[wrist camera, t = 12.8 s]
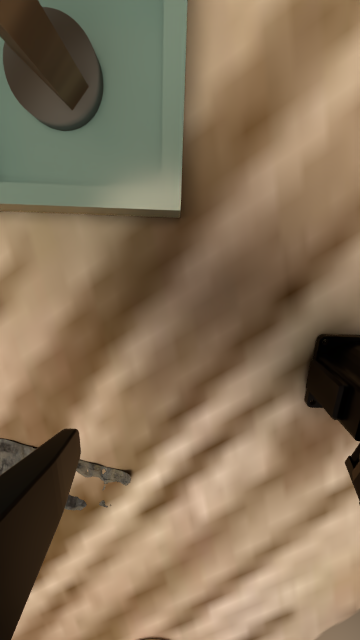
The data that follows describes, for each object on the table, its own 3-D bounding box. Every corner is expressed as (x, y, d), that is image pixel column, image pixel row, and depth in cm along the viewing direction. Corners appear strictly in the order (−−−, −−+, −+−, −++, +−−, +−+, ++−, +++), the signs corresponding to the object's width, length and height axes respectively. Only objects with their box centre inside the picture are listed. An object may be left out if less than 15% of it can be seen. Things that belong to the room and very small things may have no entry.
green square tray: (188, -34, 15) (192, -166, 10) (180, 217, 18) (180, 210, 14) (-50, -46, 14) (-164, -189, 10) (-8, 210, 18) (-74, 200, 13)
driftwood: (-93, 460, 25) (-116, 480, 23) (-89, 404, 23) (-113, 419, 21) (114, 511, 28) (110, 532, 26) (133, 463, 26) (130, 482, 24)
